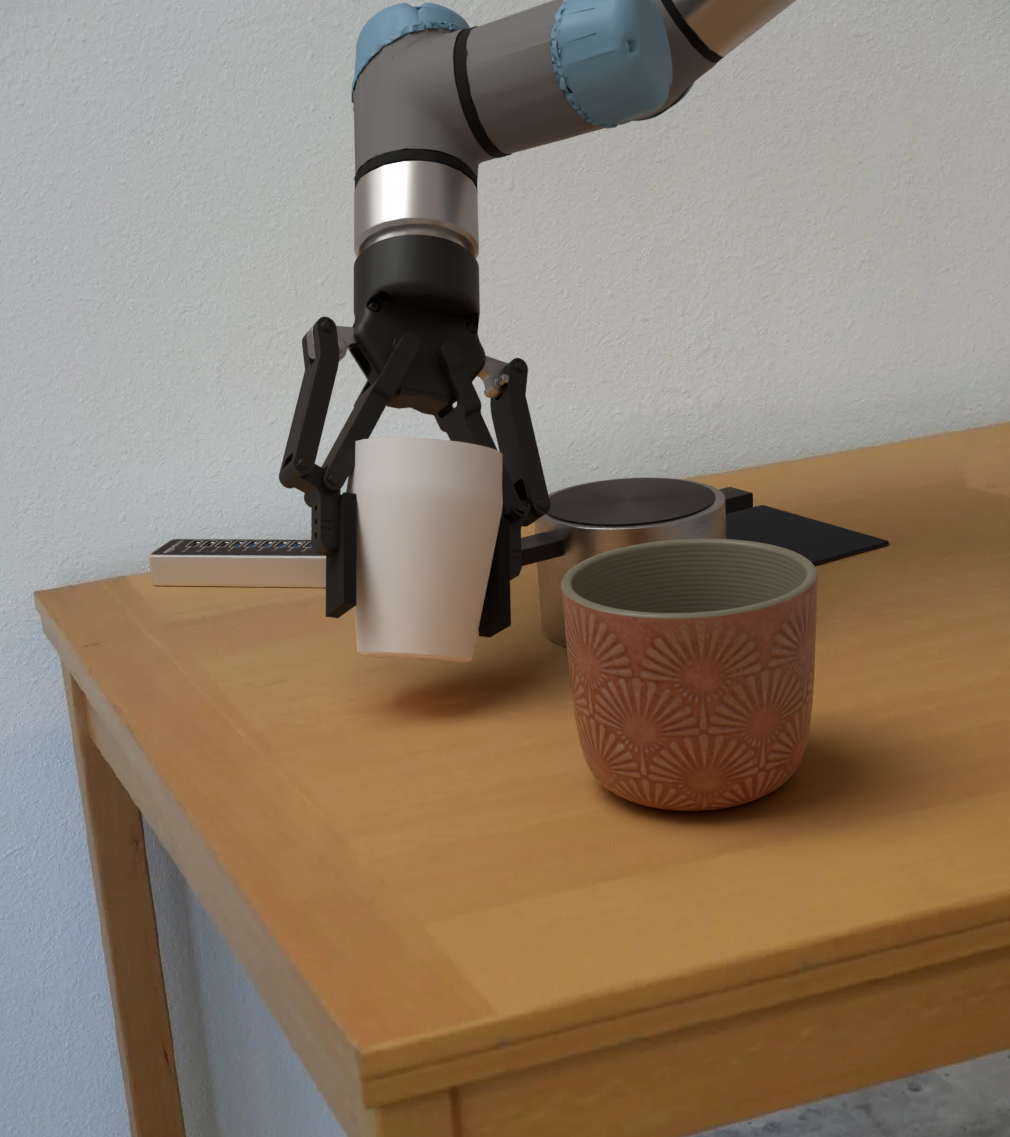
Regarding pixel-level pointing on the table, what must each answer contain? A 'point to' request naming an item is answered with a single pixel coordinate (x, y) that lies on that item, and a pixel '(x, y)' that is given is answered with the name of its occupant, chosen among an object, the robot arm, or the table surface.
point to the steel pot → (619, 527)
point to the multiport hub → (238, 563)
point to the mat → (798, 534)
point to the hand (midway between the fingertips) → (419, 621)
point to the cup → (423, 545)
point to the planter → (692, 669)
